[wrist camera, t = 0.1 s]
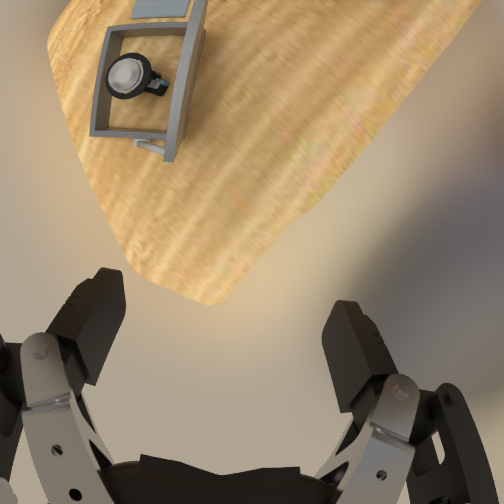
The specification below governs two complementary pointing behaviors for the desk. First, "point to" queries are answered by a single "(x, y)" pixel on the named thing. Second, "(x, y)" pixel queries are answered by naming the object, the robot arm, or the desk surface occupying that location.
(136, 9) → the rubber mat
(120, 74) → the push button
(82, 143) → the desk surface
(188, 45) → the equipment case
